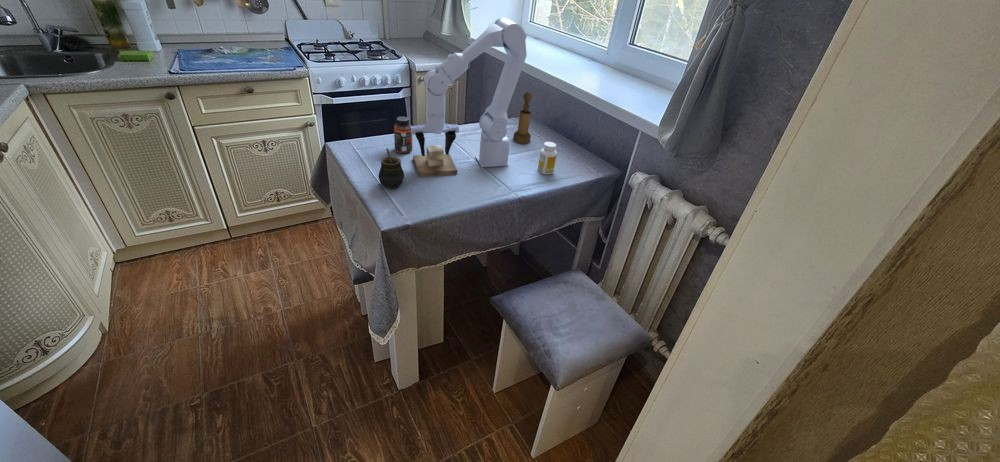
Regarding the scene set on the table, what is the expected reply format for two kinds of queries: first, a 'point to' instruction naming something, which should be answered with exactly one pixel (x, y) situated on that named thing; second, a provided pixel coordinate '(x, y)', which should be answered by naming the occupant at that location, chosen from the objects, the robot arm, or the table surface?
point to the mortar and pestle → (524, 122)
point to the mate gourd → (391, 172)
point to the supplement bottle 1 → (403, 135)
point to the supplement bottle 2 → (547, 158)
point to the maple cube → (435, 155)
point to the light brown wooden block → (427, 170)
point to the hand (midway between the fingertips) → (434, 154)
